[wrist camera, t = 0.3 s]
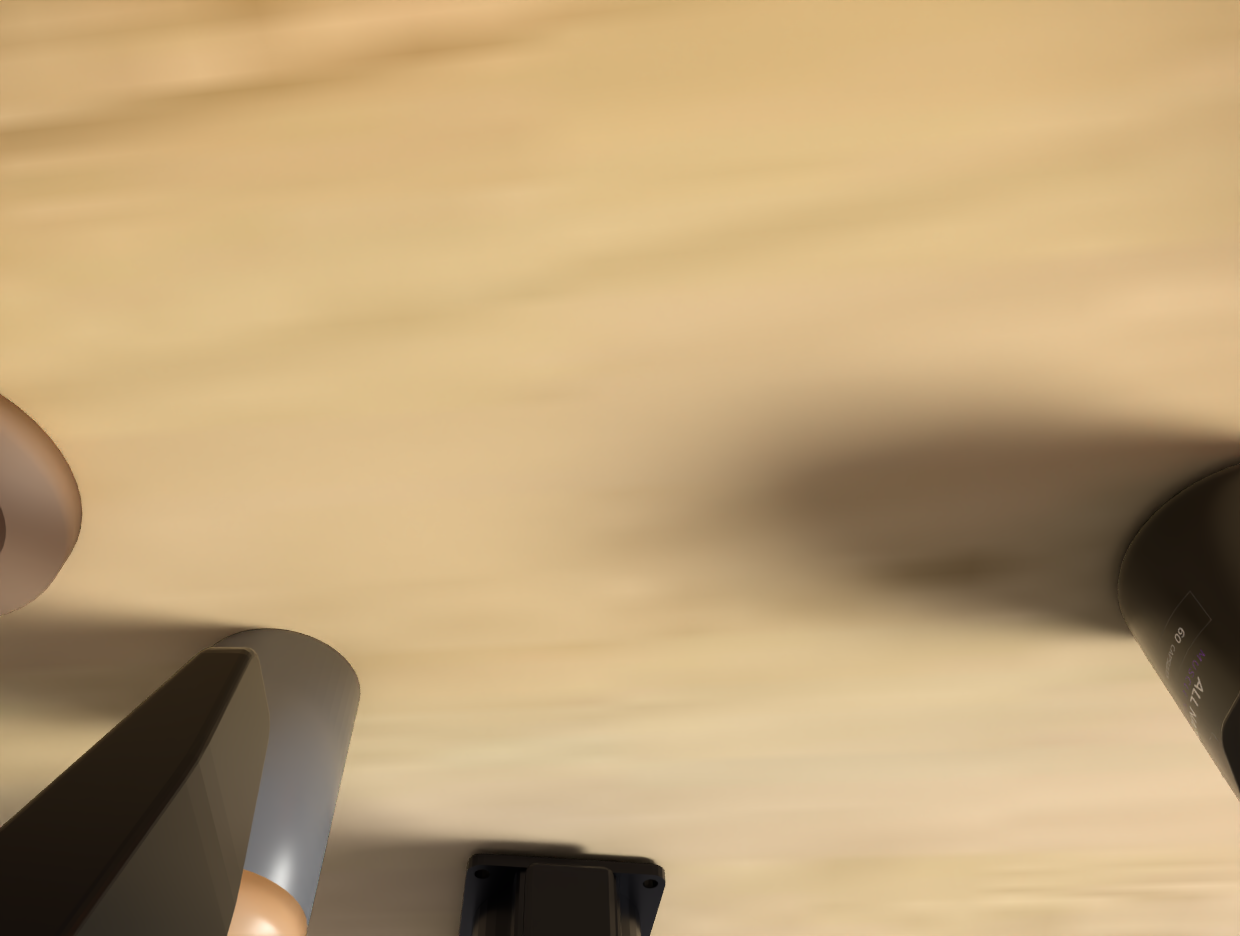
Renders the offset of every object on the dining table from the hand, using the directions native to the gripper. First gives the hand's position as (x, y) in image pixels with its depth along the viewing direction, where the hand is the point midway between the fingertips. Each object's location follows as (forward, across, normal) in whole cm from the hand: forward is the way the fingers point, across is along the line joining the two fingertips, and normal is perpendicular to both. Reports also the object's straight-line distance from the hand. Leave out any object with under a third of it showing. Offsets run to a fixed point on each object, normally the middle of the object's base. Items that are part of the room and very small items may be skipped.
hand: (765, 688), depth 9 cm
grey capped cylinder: (+14, +9, +15) cm, 22 cm away
